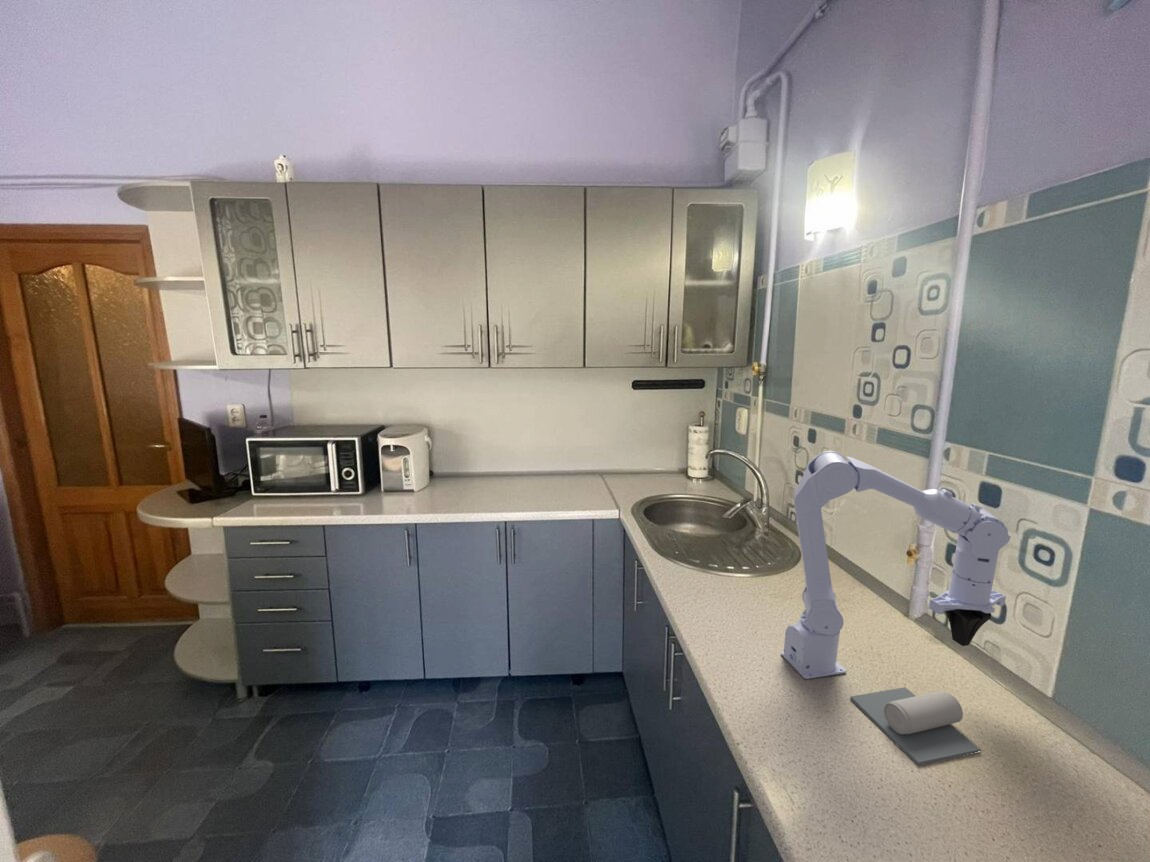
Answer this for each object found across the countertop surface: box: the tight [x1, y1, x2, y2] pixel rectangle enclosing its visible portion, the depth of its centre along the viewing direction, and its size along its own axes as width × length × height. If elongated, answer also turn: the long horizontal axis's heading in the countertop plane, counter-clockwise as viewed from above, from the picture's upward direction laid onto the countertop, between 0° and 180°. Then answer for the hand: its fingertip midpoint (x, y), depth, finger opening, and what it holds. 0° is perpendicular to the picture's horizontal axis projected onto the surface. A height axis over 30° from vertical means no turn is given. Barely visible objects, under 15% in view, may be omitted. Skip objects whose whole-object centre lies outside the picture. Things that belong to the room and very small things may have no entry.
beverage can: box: [884, 690, 964, 734], centre depth 80 cm, size 5×5×12 cm
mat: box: [850, 686, 982, 766], centre depth 81 cm, size 12×14×1 cm
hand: (960, 642), depth 87 cm, fingers closed
